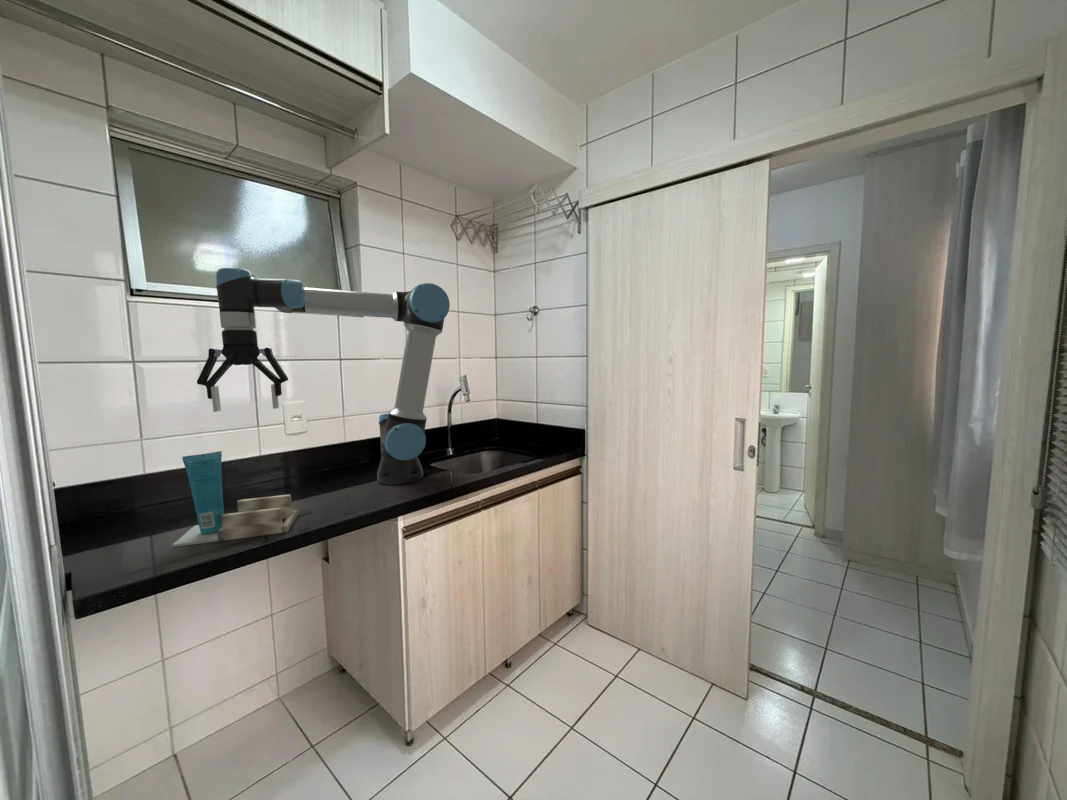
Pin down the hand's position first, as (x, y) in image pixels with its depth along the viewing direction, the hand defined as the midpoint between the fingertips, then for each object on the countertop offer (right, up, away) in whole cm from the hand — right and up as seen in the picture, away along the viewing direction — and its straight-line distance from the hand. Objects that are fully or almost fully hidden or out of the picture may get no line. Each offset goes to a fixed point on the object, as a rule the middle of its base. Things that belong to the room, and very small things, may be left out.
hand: (247, 409), depth 112 cm
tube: (-2, -30, -9) cm, 31 cm away
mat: (-3, -30, -10) cm, 32 cm away
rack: (+8, -30, -7) cm, 31 cm away
